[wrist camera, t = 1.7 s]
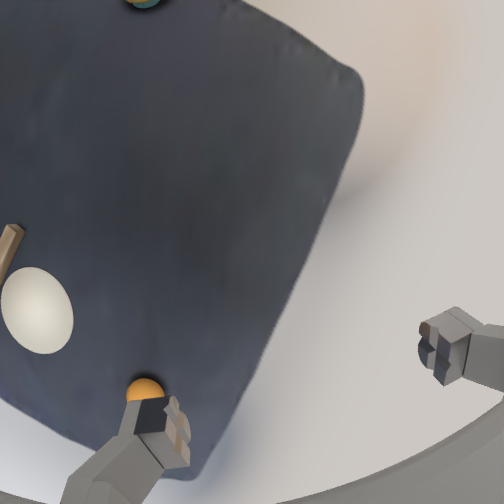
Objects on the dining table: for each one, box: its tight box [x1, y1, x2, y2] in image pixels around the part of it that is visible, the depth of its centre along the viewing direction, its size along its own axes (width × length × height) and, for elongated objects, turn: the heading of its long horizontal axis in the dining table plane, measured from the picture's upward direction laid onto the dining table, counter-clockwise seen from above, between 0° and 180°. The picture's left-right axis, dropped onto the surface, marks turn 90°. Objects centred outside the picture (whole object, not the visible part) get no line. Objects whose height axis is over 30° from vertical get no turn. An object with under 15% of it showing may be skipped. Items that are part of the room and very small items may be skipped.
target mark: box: [1, 267, 73, 354], centre depth 35 cm, size 13×13×1 cm
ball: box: [126, 379, 165, 402], centre depth 38 cm, size 6×6×6 cm
